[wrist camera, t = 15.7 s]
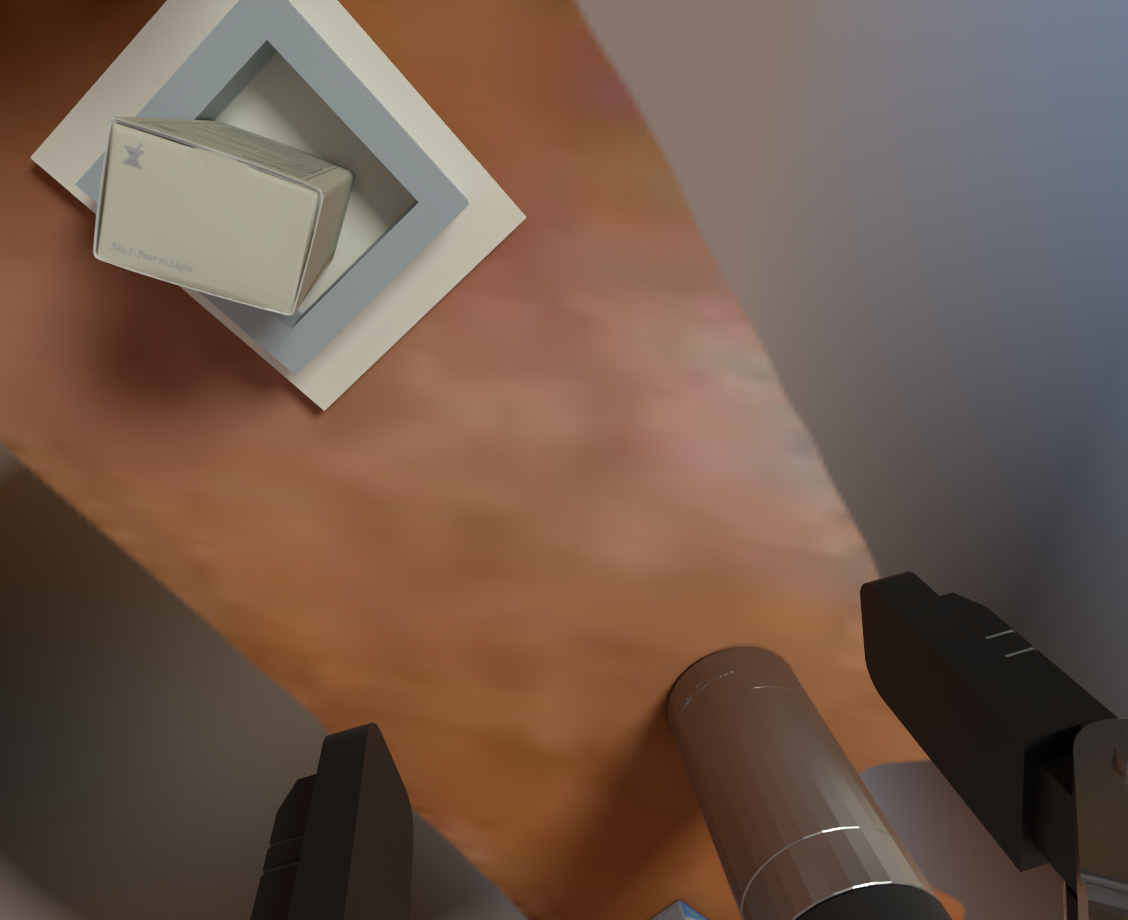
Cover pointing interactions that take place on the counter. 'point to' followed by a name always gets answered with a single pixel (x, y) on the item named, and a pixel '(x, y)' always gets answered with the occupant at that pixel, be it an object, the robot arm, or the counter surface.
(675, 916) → the medicine box
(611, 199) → the counter surface
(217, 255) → the skincare box
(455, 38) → the counter surface
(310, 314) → the collar block
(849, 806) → the robot arm
